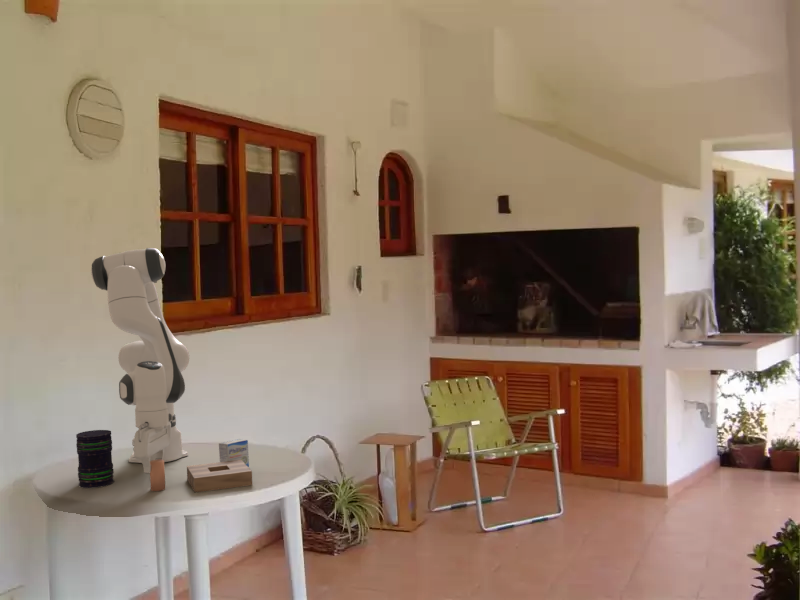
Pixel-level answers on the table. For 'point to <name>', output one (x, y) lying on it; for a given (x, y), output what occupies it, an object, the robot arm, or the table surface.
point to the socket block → (219, 475)
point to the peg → (157, 475)
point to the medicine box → (234, 451)
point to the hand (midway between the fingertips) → (153, 468)
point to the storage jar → (95, 458)
